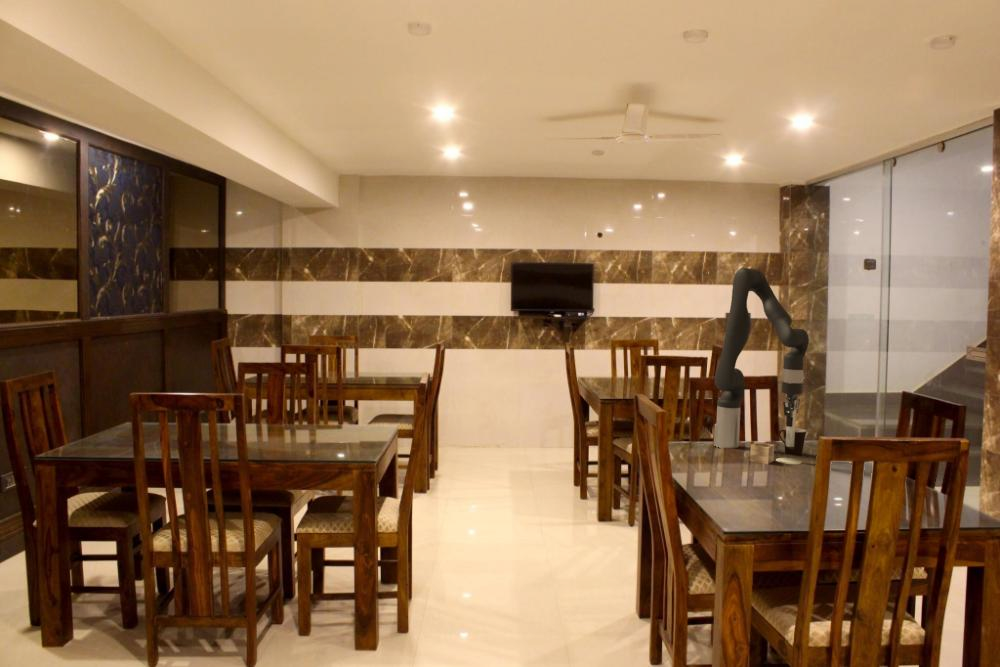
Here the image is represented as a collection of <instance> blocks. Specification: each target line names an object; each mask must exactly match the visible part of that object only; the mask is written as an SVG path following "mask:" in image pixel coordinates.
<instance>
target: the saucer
mask: <svg viewBox="0 0 1000 667" xmlns="http://www.w3.org/2000/svg"><path fill="white" fill-rule="evenodd" d="M775 461H776V462H778V463H781V464H787V465H800V464H802V460H799V459H795V458H789V457H779V458H776V459H775Z"/></svg>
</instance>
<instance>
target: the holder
mask: <svg viewBox="0 0 1000 667" xmlns="http://www.w3.org/2000/svg"><path fill="white" fill-rule="evenodd" d="M774 452H775V444H769V443H763V442H755V443H752V444H750V453H749V454H750V455H749V461H750V462H753V463H759V464H764V465H770V463H773V462H774Z"/></svg>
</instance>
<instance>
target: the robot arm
mask: <svg viewBox="0 0 1000 667" xmlns="http://www.w3.org/2000/svg"><path fill="white" fill-rule="evenodd" d="M731 291H732V293H731V301H730V302H731V303H730V310H729V314H728V320H727V323H726V329H725V335H724V339H723V344H722V349H721V353H720V354H721V355H720V358H719V362H718V365H717V368H716V371H715V374H714V384H715V387H716V388H717V389H718V390H719V391H722V392H723V394H722V395H721V396H720V397H718V399H717V404H716V406H717V408H716V422H715V424H714V431H713V432H714V433H713V434H714V435H713V447H714V446H716V448H718V447H719V448H718V449H722V448H725V449H736V448H739V445H740V421H741V403H742V401H743V400H744V390H745V377H744V374H743V371H741V370H740V369H739V368H736V366H737V365H736V364H737V360H738V358H739V356H740V354H741V353H742V352H743V350H744V348H745V347H746V346H747V343H748V341H749V338H750V333H751V326H752V323H751V322H752V321H751V317H750V313H749V310H748V296H749V293H750V292H753V293H754V294H755V295H756V296H757V297H758V298H759V299H760V301H761V303H762V308H763V312H764V315H765V317H766V318H767V319H768V320H769V322H770V323H771V325H772V326H773V328H774V329H775V332H776V336H777V337H778V339H779V341H780V342H781V344H782V345H783V346H784V347H786V348H790V351H789V352H788V353H786V354H785V355H784V357H783V365H782V366H783V370H782V378H781V393H782V394H786V396H785V399H784V401H783V413H784V414H783V415H784V416H785V417H786V420H785V426H786V428H787V427H792V426H793V412H794V411H795V410H796V416H797V415H798V413H799V407H800V403H801V399H800V398H799V396H798V395H803V393H804V380H805V379H804V378H805V376H804V365H805V364H804V360H805V356H806V354H807V351H808V346H809V342H810V341H809V340H810V338H809V333H808V332H807V330H805V329H803V328H793V327H792V326H791V325H792V323H793V318H792V317H791V316H790V314H789V313H788V312H787V310H786V309H785V308H784V307H783V306H782V304H781V303H780V301H779V299H778V298H777V296H776V295H775V293H774V291H773V289H772V287H771V286H770V283H769V281H768V280H767V278H766V276H765V275H764V273H763V272H762V271H761V270H760V269H757V268H750V267H748V268H747V267H742V268H739V269H738V270H736V272H735V274H734V276H733V282H732V290H731ZM788 411H789V413H788ZM796 419H797V418H796V417H795V421H797V420H796Z"/></svg>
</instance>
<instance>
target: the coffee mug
mask: <svg viewBox="0 0 1000 667" xmlns="http://www.w3.org/2000/svg"><path fill="white" fill-rule="evenodd" d="M786 428H787V427H783V429H780V430H779V431H778V437H779V439H780V441H781V442H782V443H783V445H784V446H783V447H784V454H786V455H794V456H798V457H802V456H803V451H804V446H805V440H806V436H807V435H806V434H807V430H806V429H803V428H797V427H795V439H794V447H788V446H786ZM781 432H782V433H783V438H782V436H781ZM801 455H802V456H801Z"/></svg>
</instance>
